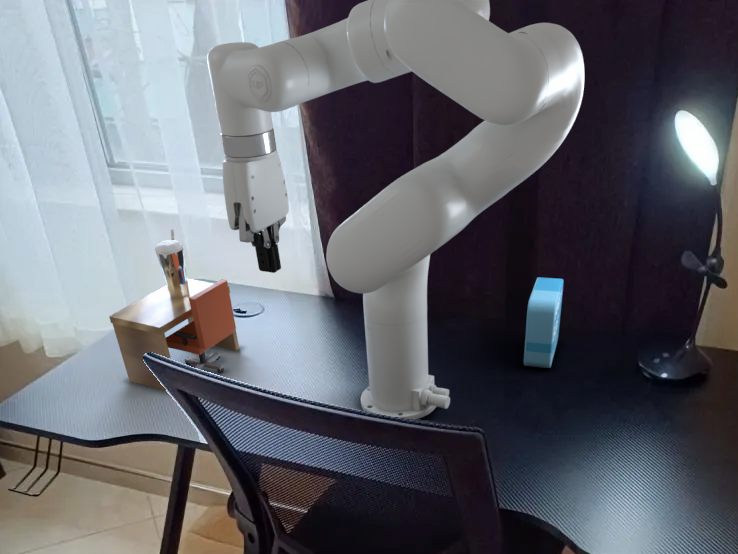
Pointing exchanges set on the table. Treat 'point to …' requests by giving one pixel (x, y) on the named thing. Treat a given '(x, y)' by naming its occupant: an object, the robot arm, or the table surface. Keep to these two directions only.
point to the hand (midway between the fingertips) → (270, 269)
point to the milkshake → (173, 266)
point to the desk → (155, 329)
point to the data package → (543, 322)
